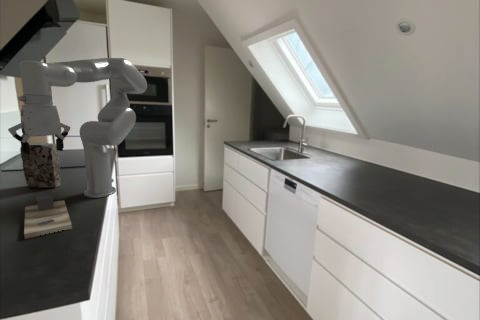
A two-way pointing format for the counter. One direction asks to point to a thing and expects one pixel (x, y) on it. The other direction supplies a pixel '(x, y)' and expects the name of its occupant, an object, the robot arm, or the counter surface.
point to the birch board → (46, 220)
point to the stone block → (42, 165)
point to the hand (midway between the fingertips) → (44, 152)
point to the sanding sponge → (45, 201)
